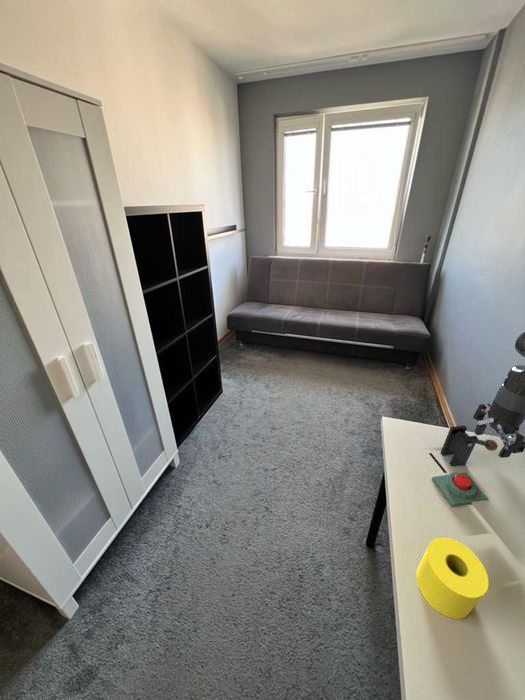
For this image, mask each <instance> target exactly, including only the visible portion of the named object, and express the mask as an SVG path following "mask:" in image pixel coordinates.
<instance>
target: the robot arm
mask: <svg viewBox="0 0 525 700" xmlns="http://www.w3.org/2000/svg"><path fill="white" fill-rule="evenodd" d="M514 349H515V351H516V353H518V354H519V355H520V356H522V357H523V358H525V330H523V331H522V332H521V333H520V334H519V336H518V337H517V338H516V340H515V343H514ZM486 415H487V418H485V417H486ZM472 417H473V419H474V420H476V426H475V429H474V434H475V436H482V435H484V434H485V431H486V429H487V427H488V425H489V426H490V428H491V429H493V430H495V432H496V433H497V434H498V435H500V436H499V438H500V440H501V441H502V443H503V446H502V448H501V449H500V451H499V453H498V457H499V458H500V459H502V458H504V459H505V458H509V457H510V456H511V455H512V454H519V453H524V451H525V433H523V432H522V431H520V426H521V425H522V424H523V423H524V422H525V365H524V364H517V365H514V366H512V367H511V368H510V369H509V371H508V373H507V374H506V377H505V378H504V381H503V383H502V384H501V385H500V387H499V388H498V390H497V392H496V394H495V396H494V398H493V401H492V402H491V403H480V404H479V405H478V407H477V408H476V410H475V412H474V414H473V416H472ZM508 435H509V436H508Z"/></svg>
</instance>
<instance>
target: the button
mask: <svg viewBox="0 0 525 700" xmlns="http://www.w3.org/2000/svg"><path fill="white" fill-rule="evenodd" d="M453 482H454V484H455V485H456V486H457V487H458V488H459V489H462V490H468V489H469V487H470V485H471V481H470V479H469V478H468V477H466V476H464V475H462V474H457V475H456V476H455V478H454V480H453Z"/></svg>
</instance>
